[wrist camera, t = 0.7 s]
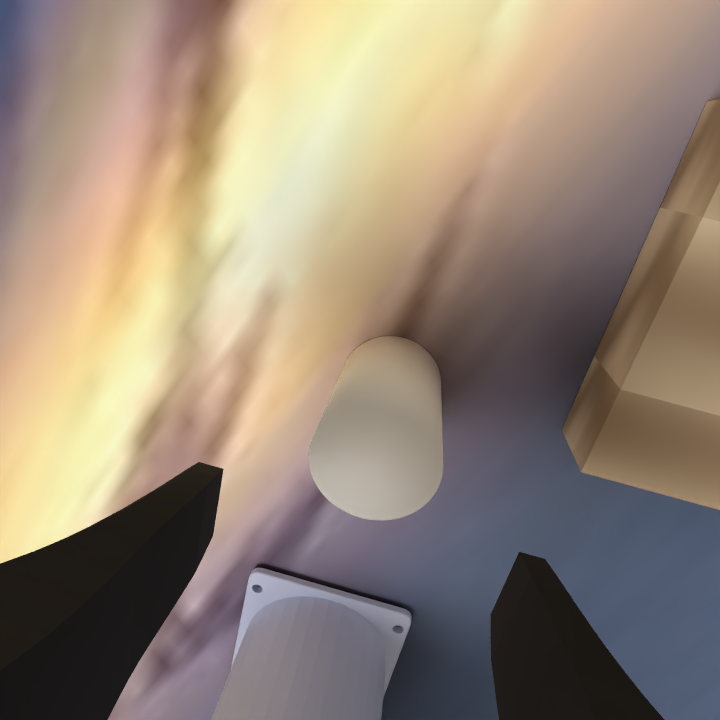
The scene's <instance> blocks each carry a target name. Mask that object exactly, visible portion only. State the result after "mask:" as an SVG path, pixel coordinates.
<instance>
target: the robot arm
mask: <svg viewBox="0 0 720 720" xmlns="http://www.w3.org/2000/svg"><path fill="white" fill-rule="evenodd" d="M222 475H223V469H222V468H218V467H214V466H211V465H207V464H204V463H200V462H198V463H197V464H195V465H193V466H191V467H190V468H188V469H187V470H185V471H183V472H182V473H180V474H179V475H177V476H176V477H174V478H173V479H171V480H169V481H168V482H166V483H165V484H163V485H162V486H160V487H158V488H157V489H155V490H154V491H152V492H150V493H149V494H147V495H145V496H144V497H142V498H140V499H139V500H137V501H135V502H133V503H132V504H130V505H128V506H127V507H125V508H123V509H121V510H120V511H118V512H116V513H114V514H112V515H110V516H108V517H106V518H105V519H103V520H101V521H99V522H97V523H95V524H93V525H91V526H90V527H88V528H86V529H83V530H81V531H79V532H77V533H75V534H73V535H71V536H69V537H67V538H65V539H62V540H60V541H58V542H55V543H53V544H51V545H48V546H46V547H44V548H41V549H39V550H36V551H34V552H31V553H28V554H26V555H23V556H20V557H17V558H15V559H12V560H9V561H6V562H4V563H1V564H0V720H107V719H108V718H109V716H110V714H111V712H112V710H113V708H114V706H115V704H116V702H117V700H118V698H119V696H120V694H121V693H122V691H123V689H124V687H125V685H126V683H127V681H128V679H129V677H130V676H131V674H132V672H133V671H134V669H135V667H136V666H137V664H138V662H139V660H140V659H141V657H142V656H143V654H144V653H145V651H146V649H147V648H148V646H149V645H150V643H151V642H152V640H153V638H154V637H155V635H156V634H157V632H158V631H159V629H160V627H161V626H162V624H163V623H164V621H165V620H166V618H167V617H168V615H169V613H170V612H171V610H172V609H173V607H174V606H175V604H176V602H177V601H178V599H179V598H180V596H181V595H182V593H183V591H184V590H185V588H186V587H187V585H188V583H189V582H190V580H191V579H192V577H193V575H194V574H195V572H196V570H197V568H198V566H199V564H200V562H201V560H202V558H203V556H204V553H205V551H206V549H207V547H208V545H209V543H210V541H211V539H212V537H213V532H214V526H215V519H216V513H217V507H218V500H219V494H220V487H221V481H222ZM257 585H259V586H261V587H259V586H257ZM396 625H399V626H401V627H398V626H396ZM410 625H411V614H410V612H409V611H408V610H406V609H404V608H400V607H397V606H393V605H390V604H386V603H383V602H379V601H376V600H372V599H369V598H365V597H362V596H358V595H355V594H351V593H348V592H344V591H341V590H337V589H334V588H330V587H327V586H323V585H320V584H316V583H313V582H309V581H306V580H302V579H299V578H295V577H292V576H288V575H285V574H282V573H278V572H275V571H271V570H268V569H264V568H255V569H253V570H252V572H251V574H250V576H249V580H248V585H247V590H246V595H245V600H244V605H243V610H242V615H241V620H240V626H239V631H238V636H237V641H236V646H235V651H234V656H233V661H232V666H231V670H230V673H229V676H228V678H227V681H226V683H225V686H224V688H223V691H222V693H221V696H220V698H219V701H218V703H217V706H216V708H215V711H214V713H213V716H212V718H211V720H381V716H382V706H383V697H384V694H385V692H386V689H387V687H388V684H389V681H390V679H391V676H392V673H393V671H394V668H395V665H396V663H397V660H398V657H399V655H400V652H401V649H402V647H403V644H404V641H405V639H406V636H407V633H408V631H409V628H410ZM491 661H492V670H493V677H494V685H495V693H496V700H497V707H498V715H499V720H664V719H663V718H662V716H661V715H660V714H659V713H658V712H657V711H656V710H655V708H654V707H653V706H652V705H651V704H650V703H649V701H648V700H647V699H646V698H645V697H644V695H643V694H642V693H641V692H640V691H639V689H638V688H637V687H636V686H635V684H634V683H633V682H632V680H631V679H630V678H629V677H628V675H627V674H626V673H625V671H624V670H623V669H622V668H621V666H620V665H619V664H618V662H617V661H616V660H615V659H614V657H613V656H612V655H611V653H610V652H609V650H608V649H607V648H606V646H605V645H604V644H603V642H602V641H601V640H600V638H599V637H598V635H597V634H596V633H595V631H594V630H593V628H592V627H591V625H590V624H589V623H588V621H587V620H586V618H585V617H584V615H583V614H582V612H581V611H580V610H579V608H578V607H577V605H576V604H575V602H574V601H573V599H572V598H571V596H570V595H569V593H568V592H567V590H566V589H565V587H564V586H563V584H562V583H561V581H560V580H559V578H558V577H557V575H556V574H555V573H554V571H553V570H552V568H551V567H550V565H549V564H548V563H547V561H546V560H545V559H543V558H539V557H536V556H532V555H529V554H525V553H521V552H519V554H518V556H517V558H516V560H515V562H514V565H513V567H512V569H511V571H510V573H509V576H508V578H507V580H506V582H505V584H504V587H503V589H502V591H501V593H500V595H499V598H498V600H497V602H496V604H495V606H494V609H493V611H492V613H491Z"/></svg>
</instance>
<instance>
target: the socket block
mask: <svg viewBox="0 0 720 720" xmlns="http://www.w3.org/2000/svg"><path fill="white" fill-rule="evenodd" d="M562 432H563V434H564V436H565V438H566V441H567V443H568V445H569V447H570V449H571V451H572V454H573V456H574V458H575V460H576V462H577V464H578V467H579V469H580V471H581V472H582V473H586V474H590V475H593V476H597V477H601V478H604V479H608V480H612V481H615V482H619V483H623V484H626V485H630V486H634V487H637V488H641V489H645V490H648V491H652V492H656V493H659V494H663V495H667V496H670V497H674V498H678V499H681V500H685V501H689V502H692V503H696V504H700V505H703V506H707V507H710V508H714V509H718V510H720V99H717V100H712V101H707V103H706V105H705V107H704V109H703V112H702V114H701V116H700V118H699V121H698V123H697V125H696V127H695V130H694V132H693V134H692V137H691V139H690V141H689V143H688V146H687V148H686V150H685V152H684V155H683V157H682V159H681V161H680V164H679V166H678V168H677V170H676V173H675V175H674V177H673V179H672V182H671V184H670V186H669V188H668V191H667V193H666V195H665V197H664V200H663V202H662V204H661V206H660V209H659V211H658V213H657V215H656V218H655V220H654V222H653V225H652V227H651V229H650V231H649V234H648V236H647V238H646V240H645V243H644V245H643V247H642V249H641V252H640V254H639V256H638V258H637V261H636V263H635V265H634V267H633V270H632V272H631V274H630V276H629V279H628V281H627V283H626V285H625V288H624V290H623V292H622V294H621V297H620V299H619V301H618V304H617V306H616V308H615V310H614V313H613V315H612V317H611V319H610V322H609V324H608V326H607V328H606V331H605V333H604V335H603V337H602V340H601V342H600V344H599V346H598V349H597V351H596V353H595V355H594V358H593V360H592V362H591V364H590V367H589V369H588V371H587V373H586V376H585V378H584V380H583V382H582V385H581V387H580V389H579V392H578V394H577V396H576V398H575V401H574V403H573V405H572V407H571V410H570V412H569V414H568V416H567V419H566V421H565V423H564V425H563V428H562Z"/></svg>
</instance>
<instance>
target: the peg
mask: <svg viewBox="0 0 720 720" xmlns="http://www.w3.org/2000/svg"><path fill="white" fill-rule="evenodd" d="M309 466H310V471H311V474H312V477H313V479H314V482H315V484H316V485H317V487H318V488H319V490H320V491H321V493H322V494H323V495H324V496H325V497H326V498H327V499H328V500H329V501H330V502H331V503H332V504H334V505H335V506H336V507H338V508H340V509H341V510H343V511H345V512H347V513H349V514H351V515H354V516H357V517H360V518H364V519H370V520H393V519H397V518H402V517H404V516H407V515H410V514H412V513H414V512H416V511H417V510H419V509H420V508H422V507H423V506H424V505H425V504H427V503H428V502H429V501H430V500H431V498H432V497H433V496H434V494H435V493H436V491H437V490H438V487H439V485H440V483H441V479H442V475H443V437H442V399H441V377H440V372H439V369H438V366H437V364H436V362H435V360H434V359H433V358H432V356H431V355H430V354H429V353H428V352H427V351H426V350H425V349H424V348H423V347H422V346H420V345H419V344H417V343H415V342H413V341H411V340H409V339H406V338H402V337H397V336H383V337H377V338H374V339H371V340H369V341H366V342H364V343H363V344H361V345H360V346H358V347H357V348H356V349H355V350H354V351H353V352H352V353H351V354H350V356H349V357H348V359H347V361H346V363H345V365H344V367H343V370H342V372H341V374H340V376H339V379H338V381H337V383H336V386H335V388H334V390H333V393H332V395H331V397H330V400H329V402H328V404H327V406H326V409H325V411H324V413H323V416H322V418H321V420H320V423H319V425H318V427H317V430H316V432H315V434H314V437H313V439H312V442H311V445H310V450H309Z"/></svg>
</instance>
